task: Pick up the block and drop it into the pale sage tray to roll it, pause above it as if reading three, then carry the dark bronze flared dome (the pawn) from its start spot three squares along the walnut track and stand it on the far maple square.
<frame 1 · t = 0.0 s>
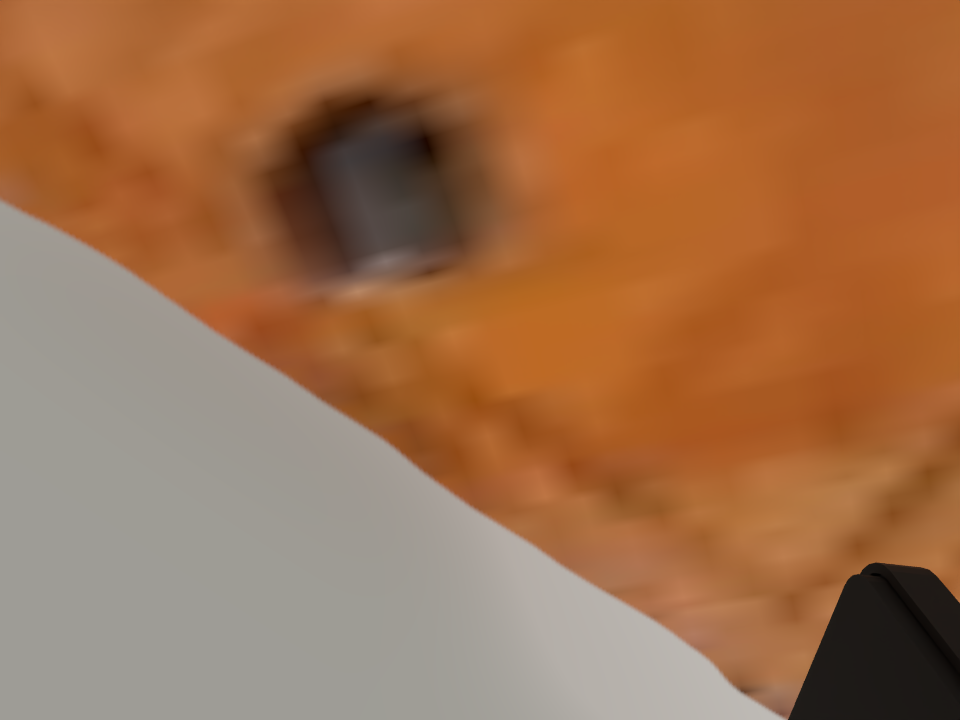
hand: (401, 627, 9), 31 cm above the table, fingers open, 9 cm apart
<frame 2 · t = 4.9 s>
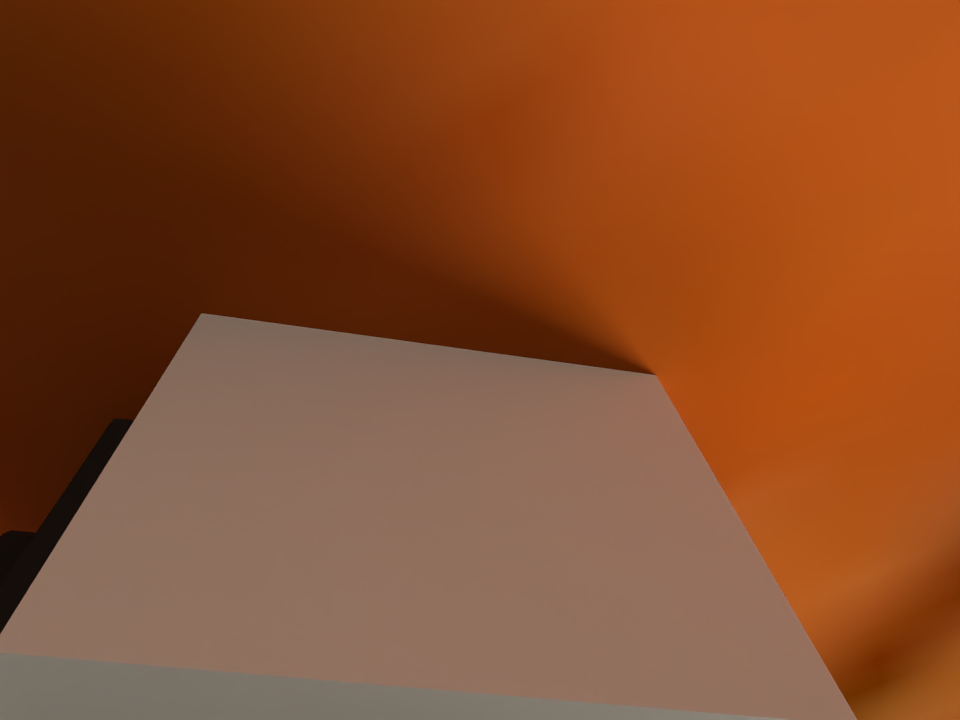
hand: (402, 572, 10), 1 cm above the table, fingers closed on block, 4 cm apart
block: (404, 534, 11), on the table, touching gripper
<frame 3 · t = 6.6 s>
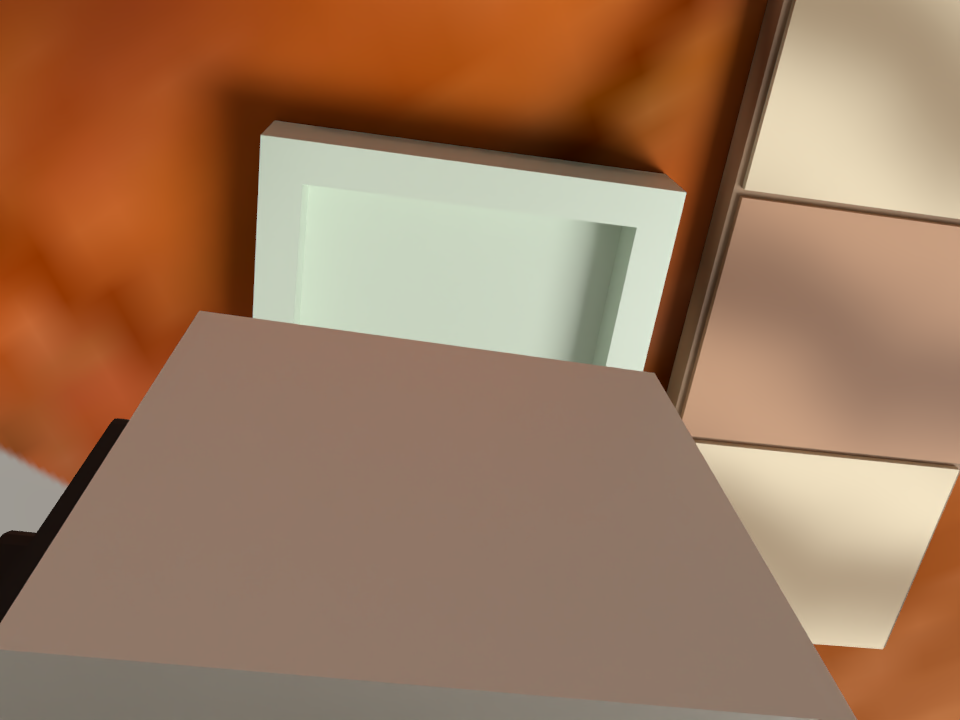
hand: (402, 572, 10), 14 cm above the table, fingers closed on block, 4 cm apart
track: (841, 324, 25), on the table
tray: (449, 329, 24), on the table
block: (402, 532, 10), point 14 cm above the table, touching gripper
when the fingers open (4 cm above the table, at t = 8.2 s): block drops 3 cm, resting on tray.
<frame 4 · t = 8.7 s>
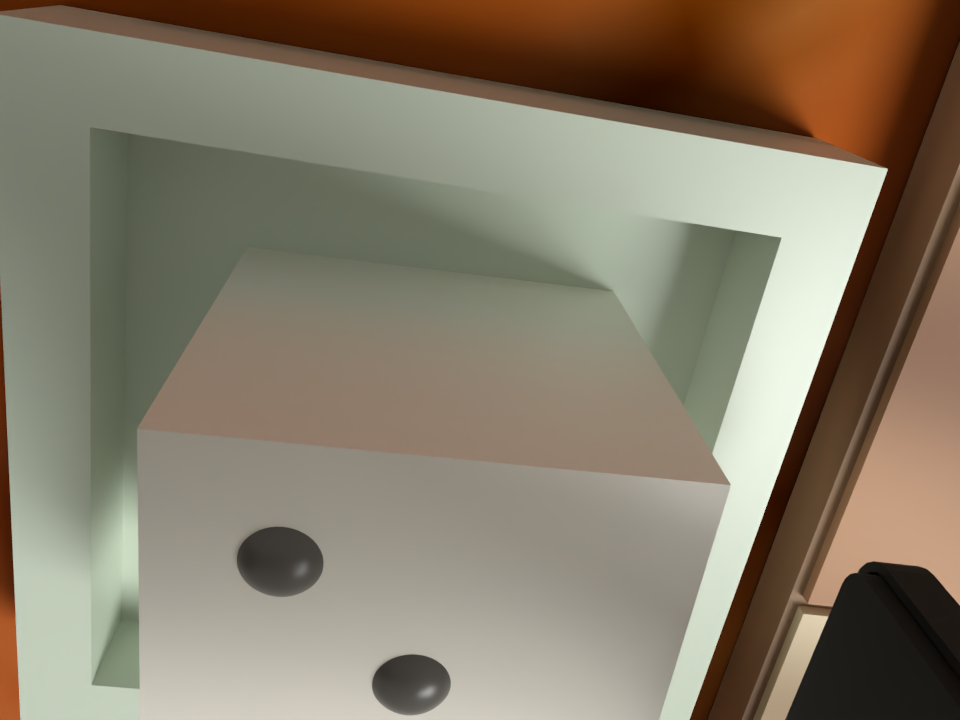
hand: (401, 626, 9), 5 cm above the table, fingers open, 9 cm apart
tray: (406, 411, 13), on the table
block: (413, 430, 13), point 1 cm above the table, touching tray
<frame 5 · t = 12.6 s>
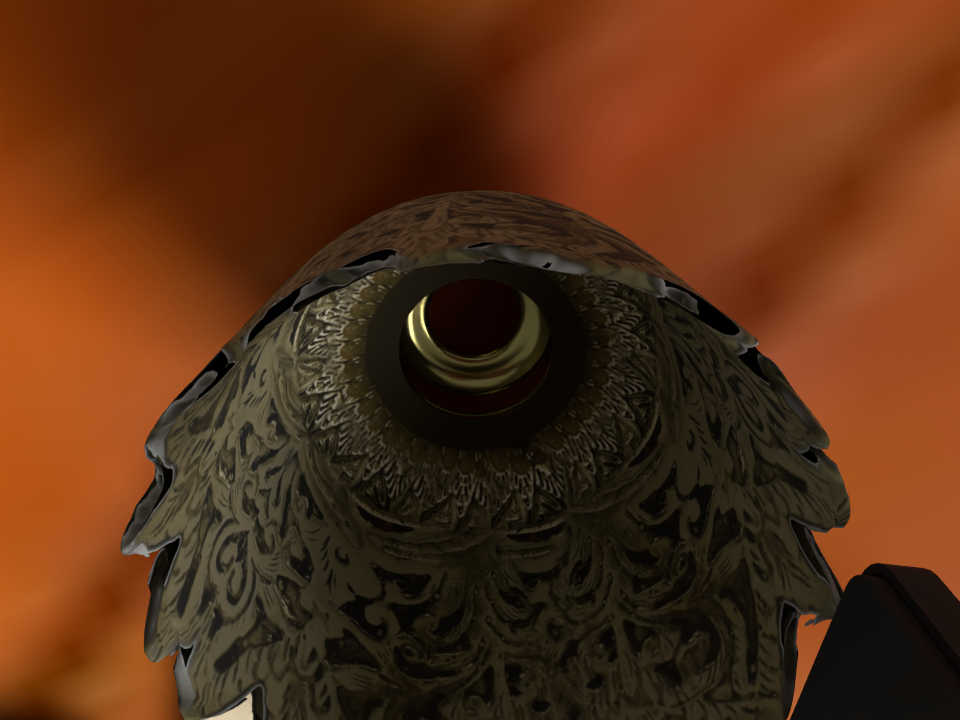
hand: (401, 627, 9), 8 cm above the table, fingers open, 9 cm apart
dark bronze flared dome: (473, 308, 16), on the table, touching gripper
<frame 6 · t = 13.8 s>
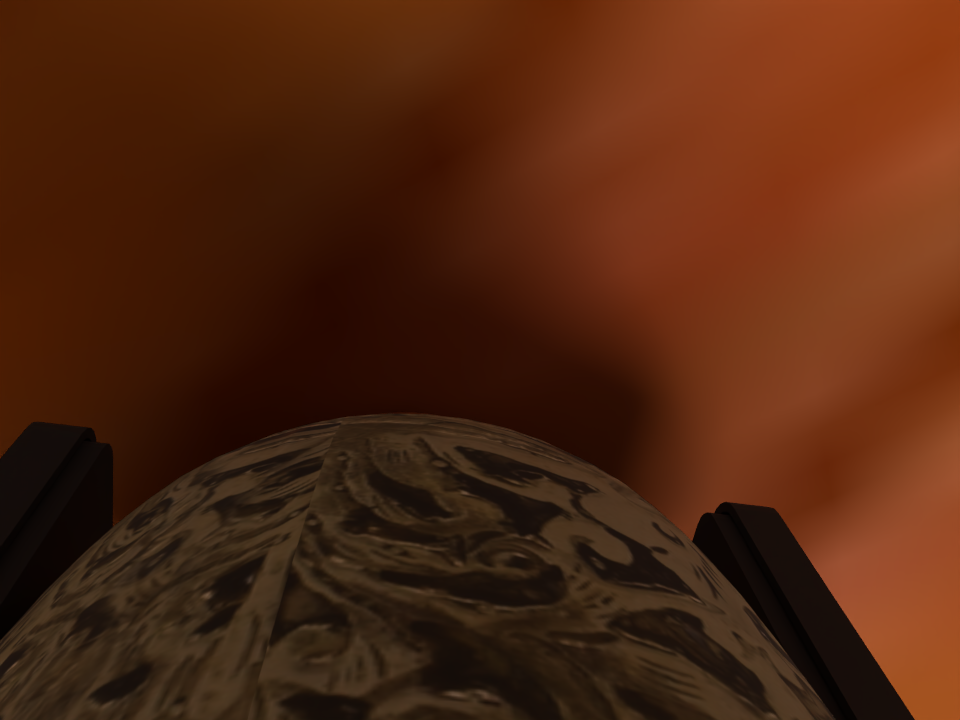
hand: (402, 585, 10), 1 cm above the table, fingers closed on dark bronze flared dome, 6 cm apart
dark bronze flared dome: (406, 510, 11), on the table, touching gripper
when the fingers open (4 cm above the table, at t = 18.7 s): dark bronze flared dome drops 1 cm, resting on track.
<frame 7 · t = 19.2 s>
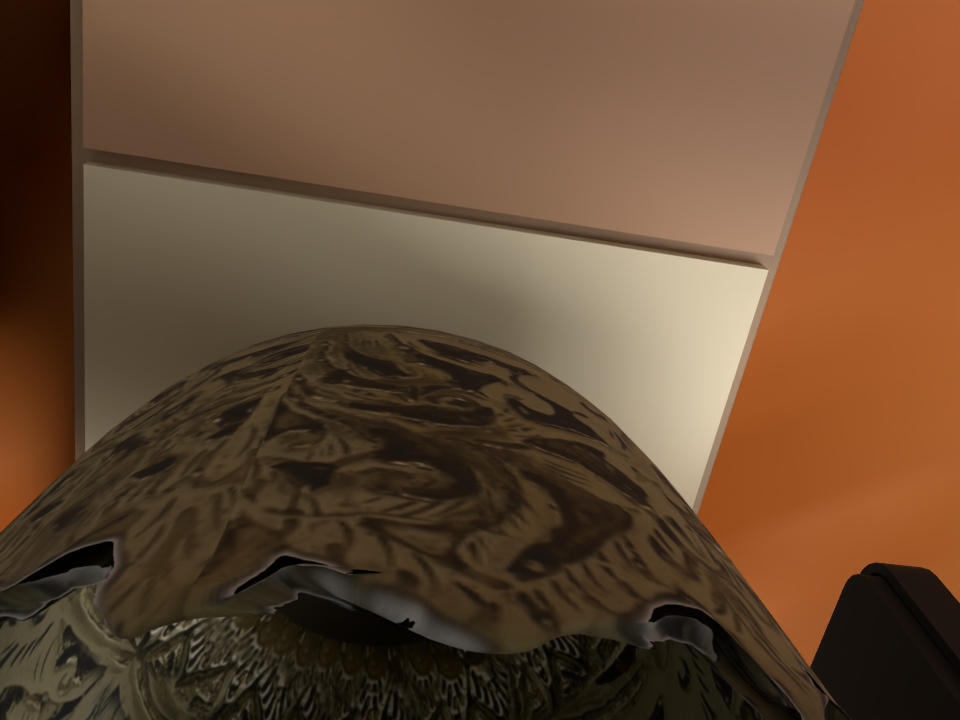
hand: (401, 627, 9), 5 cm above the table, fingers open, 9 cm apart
dark bronze flared dome: (389, 439, 12), point 1 cm above the table, touching track
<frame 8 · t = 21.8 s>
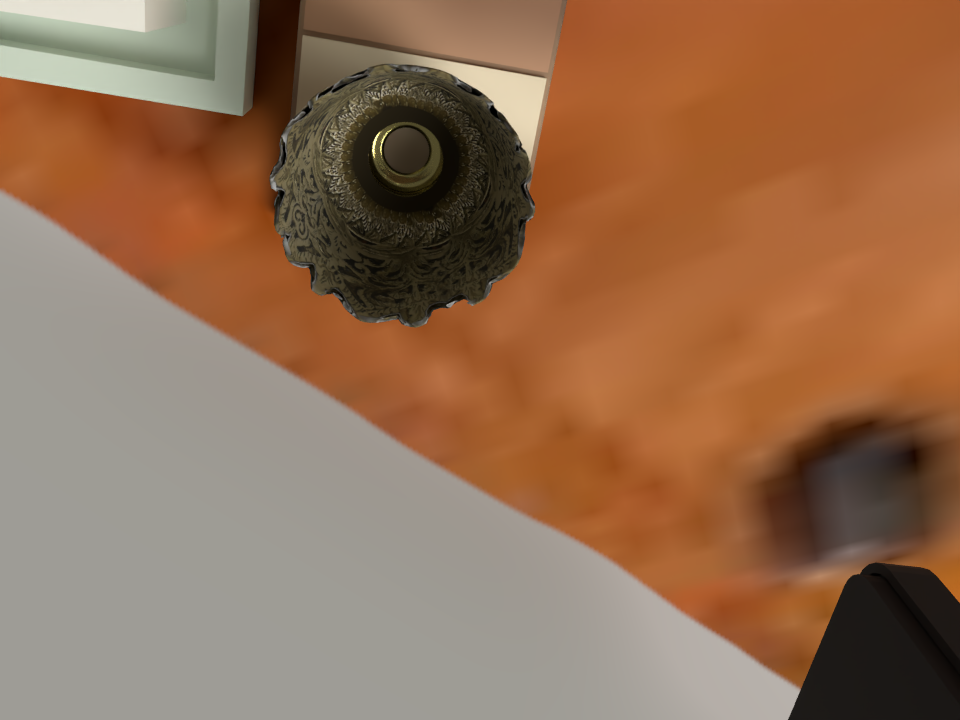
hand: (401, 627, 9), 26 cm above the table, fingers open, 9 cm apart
dark bronze flared dome: (406, 149, 32), point 1 cm above the table, touching track
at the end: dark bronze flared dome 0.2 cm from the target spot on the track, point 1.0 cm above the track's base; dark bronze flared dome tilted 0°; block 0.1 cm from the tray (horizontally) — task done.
